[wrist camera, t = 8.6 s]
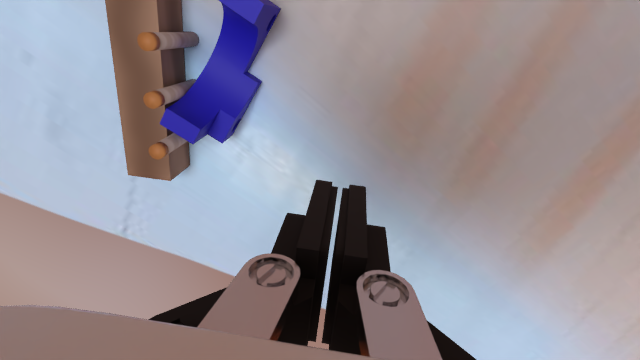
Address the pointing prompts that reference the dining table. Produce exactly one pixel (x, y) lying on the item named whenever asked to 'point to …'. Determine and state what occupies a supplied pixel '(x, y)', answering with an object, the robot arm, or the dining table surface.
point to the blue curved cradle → (224, 75)
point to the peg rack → (150, 82)
